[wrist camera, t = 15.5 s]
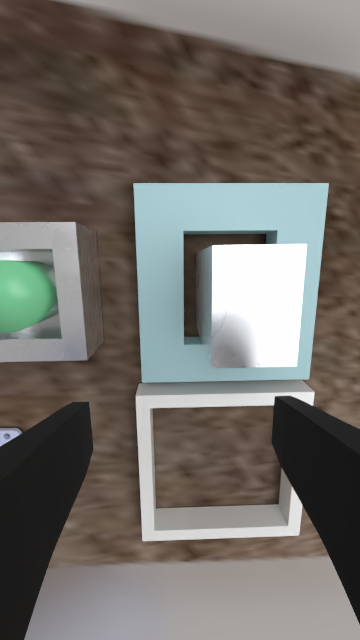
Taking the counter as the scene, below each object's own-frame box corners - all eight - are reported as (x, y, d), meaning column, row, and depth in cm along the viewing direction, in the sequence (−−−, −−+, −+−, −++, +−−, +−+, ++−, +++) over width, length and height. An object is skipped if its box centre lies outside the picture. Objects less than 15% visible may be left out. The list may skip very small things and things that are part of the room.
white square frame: (145, 517, 23) (142, 541, 21) (139, 383, 21) (135, 395, 19) (288, 513, 24) (298, 535, 22) (301, 379, 21) (314, 391, 19)
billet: (196, 327, 20) (211, 368, 12) (195, 253, 19) (212, 245, 11) (248, 326, 20) (296, 366, 12) (251, 252, 19) (306, 243, 11)
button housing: (-3, 343, 20) (-47, 362, 16) (-21, 231, 18) (-75, 222, 14) (104, 341, 20) (87, 360, 16) (96, 231, 18) (75, 222, 14)
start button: (10, 320, 18) (-28, 333, 15) (1, 261, 17) (-41, 260, 14) (68, 319, 18) (44, 332, 15) (62, 260, 17) (35, 259, 14)
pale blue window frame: (144, 371, 20) (141, 382, 19) (137, 192, 18) (133, 183, 16) (296, 368, 21) (308, 379, 19) (311, 191, 18) (328, 183, 16)
